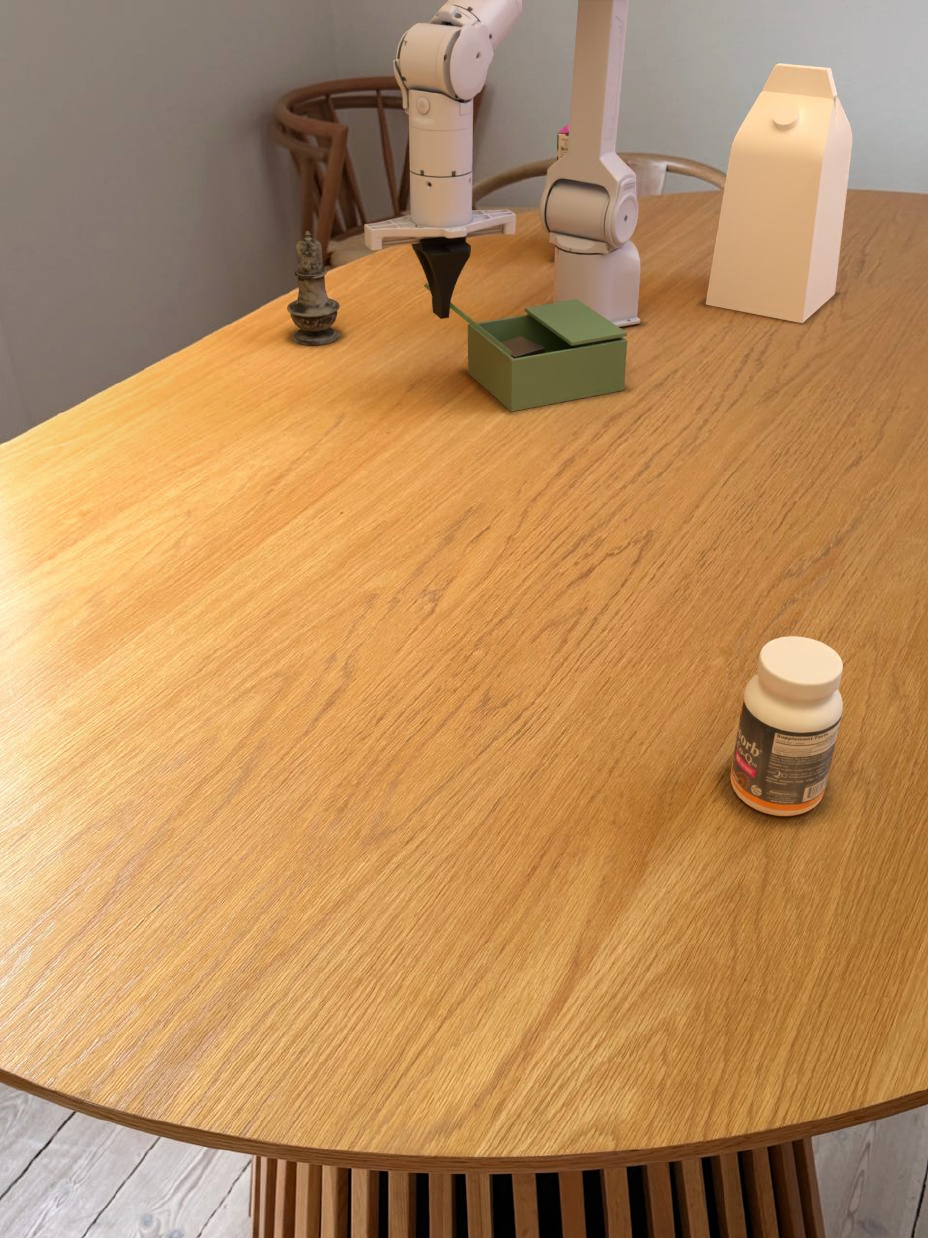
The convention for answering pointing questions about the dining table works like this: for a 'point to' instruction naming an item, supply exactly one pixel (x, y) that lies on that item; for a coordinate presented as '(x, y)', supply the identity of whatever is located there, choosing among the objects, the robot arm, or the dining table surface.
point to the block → (523, 347)
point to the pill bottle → (788, 727)
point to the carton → (550, 356)
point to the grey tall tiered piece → (312, 297)
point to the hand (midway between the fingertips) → (441, 315)
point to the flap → (476, 326)
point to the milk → (784, 199)
